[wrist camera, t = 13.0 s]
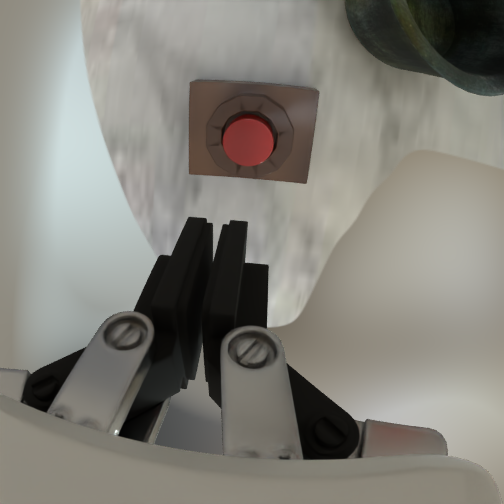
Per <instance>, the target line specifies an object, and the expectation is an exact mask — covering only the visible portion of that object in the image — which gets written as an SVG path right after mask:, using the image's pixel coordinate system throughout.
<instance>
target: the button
mask: <svg viewBox="0 0 504 504" xmlns="http://www.w3.org/2000/svg"><path fill="white" fill-rule="evenodd" d="M273 145H274V136H273V131H272V128H271V126H270V125H269V123H268V122H267V121H266V120H264V119H263V118H261V117H259V116H257V115H252V114H246V115H241V116H239V117H237V118H235V119H234V120H233V121H232V122H231V123H230V124H229V126H228V127H227V129H226V131H225V133H224V135H223V148H224V151H225V153H226V155H227V156H228V157H229V158H230V159H231V160H232V161H233V162H235V163H237V164H239V165H242V166H255V165H258V164H260V163H262V162H264V161H265V160H266V159H267V158H268V157H269V156H270V154H271V152H272V150H273Z"/></svg>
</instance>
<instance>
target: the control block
mask: <svg viewBox="0 0 504 504" xmlns="http://www.w3.org/2000/svg"><path fill="white" fill-rule="evenodd" d="M318 99H319V91H318V90H317V89H315V88H308V87H300V86H291V85H282V84H272V83H260V82H246V81H225V80H195V81H192V82H190V96H189V174H195V175H212V176H227V177H240V178H252V179H264V180H275V181H285V182H294V183H303V184H307V178H308V171H309V165H310V158H311V151H312V144H313V137H314V130H315V122H316V115H317V107H318ZM246 114H252V115H257V116H259V117H261V118H263V119H264V120H266V121H267V122H268V123H269V125H270V126H271V128H272V131H273V136H274V145H273V150H272V152H271V154H270V156H269V157H268V158H267V159H266V160H265V161H264V162H262V163H260V164H258V165H255V166H242V165H239V164H237V163H235V162H233V161H232V160H231V159H230V158H229V157H228V156H227V155H226V153H225V151H224V148H223V135H224V133H225V131H226V129H227V127H228V126H229V124H230V123H231V122H232V121H233V120H234V119H235V118H237V117H239V116H241V115H246Z"/></svg>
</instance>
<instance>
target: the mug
mask: <svg viewBox="0 0 504 504" xmlns="http://www.w3.org/2000/svg"><path fill="white" fill-rule="evenodd" d="M346 11H347V16H348V20H349V22H350V25H351V27H352V29H353V31H354V33H355V35H356V37H357V38H358V39H359V41H360V42H361V44H362V45H363V46H364V47H365V48H366V49H367V50H368V51H369V52H370V53H371V54H372V55H374V56H375V57H376V58H378V59H379V60H381V61H382V62H384V63H386V64H388V65H390V66H392V67H395V68H398V69H403V70H408V71H414V72H419V73H424V74H428V75H433V76H437V77H442V78H445V79H446V80H448V81H449V82H451V83H452V84H454V85H455V86H457V87H459V88H461V89H463V90H465V91H467V92H470V93H474V94H477V95H482V96H497V95H503V94H504V0H346Z"/></svg>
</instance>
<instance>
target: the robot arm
mask: <svg viewBox="0 0 504 504" xmlns="http://www.w3.org/2000/svg"><path fill="white" fill-rule="evenodd" d="M247 227H248V222H246V221H235V220H230V223H229V225H228V224H223V226H222V230H221V234H220V238H219V241H218V245H217V249H216V253H215V257H214V261H213V224H212V223H207V219H206V218H197V217H188V219H187V221H186V224H185V226H184V228H183V230H182V232H181V235H180V237H179V239H178V241H177V243H176V246H175V248H174V250H173V252H172V255H171V256H168V255H160V256H159V257H158V259H157V261H156V263H155V265H154V267H153V269H152V271H151V274H150V276H149V278H148V280H147V282H146V284H145V286H144V289H143V291H142V293H141V295H140V297H139V300H138V302H137V304H136V306H135V309H134V311H125V312H120V313H117V314H114V315H112V316H111V317H109V318H107V319H106V320H105V321H104V323H102V325H101V326H100V327H99V329H98V330H97V332H96V333H95V335H94V337H93V338H92V339H91V341H90V343H89V344H88V346H87V347H85V348H83V349H81V350H79V351H77V352H74V353H72V354H70V355H68V356H66V357H64V358H62V359H60V360H58V361H55V362H53V363H51V364H49V365H47V366H44V367H42V368H40V369H39V370H37V371H35V372H34V373H33V374H30V372H29V371H28V370H18V369H6V368H0V504H503V502H502V499H501V496H500V492H499V489H498V487H497V485H496V483H495V481H494V479H493V478H492V476H491V474H490V473H489V472H488V471H487V470H486V469H484V468H483V467H482V466H480V465H478V464H476V463H473V462H471V461H469V460H465V459H461V458H458V457H453V456H448V449H447V444H446V441H445V439H444V437H443V436H442V435H441V434H440V433H439V432H437V431H436V430H434V429H430V428H424V427H416V426H408V425H401V424H394V423H387V422H381V421H375V420H370V419H367V420H366V421H365V422H362V421H357V420H354V419H353V418H352V417H351V416H350V415H349V414H348V413H347V412H346V411H345V410H343V409H342V408H341V407H339V406H338V405H337V404H336V403H334V402H333V401H332V400H331V399H329V398H328V397H327V396H326V395H325V394H323V393H322V392H321V391H320V390H318V389H317V388H316V387H315V386H314V385H312V384H311V383H310V382H308V381H307V380H306V379H305V378H304V377H302V376H301V375H300V374H299V373H298V372H297V371H295V370H294V369H293V368H292V367H291V366H289V365H288V364H287V363H286V358H285V352H284V347H283V345H282V342H281V340H280V339H279V338H278V337H277V335H276V334H274V333H273V332H271V331H270V330H268V329H267V305H268V270H269V266H268V265H265V264H254V263H245V255H246V241H247ZM202 343H203V352H204V365H205V377H206V382H208V386H209V396H210V397H211V398H212V399H213V400H214V401H215V403H216V404H217V405H218V406H219V407H220V408H221V417H222V443H223V444H222V445H223V455H214V454H207V453H200V452H193V451H186V450H181V449H174V448H169V447H164V446H159V445H154V442H155V440H156V437H157V434H158V432H159V429H160V427H161V424H162V422H163V419H164V417H165V414H166V412H167V409H168V407H169V404H170V400H171V396H173V395H174V394H176V393H178V392H180V388H182V389H187V385H188V380H195V376H196V372H197V367H198V362H199V357H200V353H201V347H202Z"/></svg>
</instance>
